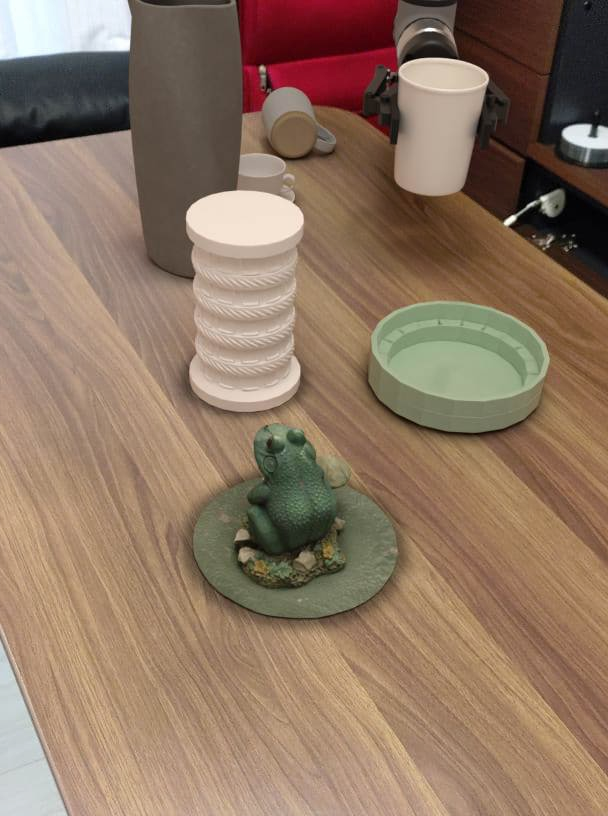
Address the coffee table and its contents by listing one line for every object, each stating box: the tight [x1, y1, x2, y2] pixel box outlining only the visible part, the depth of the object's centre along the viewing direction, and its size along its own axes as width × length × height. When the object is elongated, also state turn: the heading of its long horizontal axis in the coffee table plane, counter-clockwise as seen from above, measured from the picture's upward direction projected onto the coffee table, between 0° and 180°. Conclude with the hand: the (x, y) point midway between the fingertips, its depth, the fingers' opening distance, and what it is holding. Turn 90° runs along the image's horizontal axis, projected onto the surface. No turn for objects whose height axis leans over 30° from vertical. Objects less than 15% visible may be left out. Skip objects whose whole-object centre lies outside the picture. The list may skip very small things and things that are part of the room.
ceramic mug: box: [260, 86, 337, 159], centre depth 141 cm, size 11×8×8 cm
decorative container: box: [186, 190, 305, 413], centre depth 96 cm, size 12×12×18 cm
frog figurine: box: [192, 422, 399, 619], centre depth 81 cm, size 18×18×12 cm
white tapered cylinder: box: [393, 58, 490, 197], centre depth 110 cm, size 10×10×12 cm
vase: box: [127, 0, 244, 279], centre depth 109 cm, size 12×12×30 cm
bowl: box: [367, 300, 551, 434], centre depth 102 cm, size 18×18×4 cm
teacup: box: [237, 152, 296, 203], centre depth 130 cm, size 10×10×5 cm
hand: (440, 134), depth 105 cm, fingers closed on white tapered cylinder, 9 cm apart
